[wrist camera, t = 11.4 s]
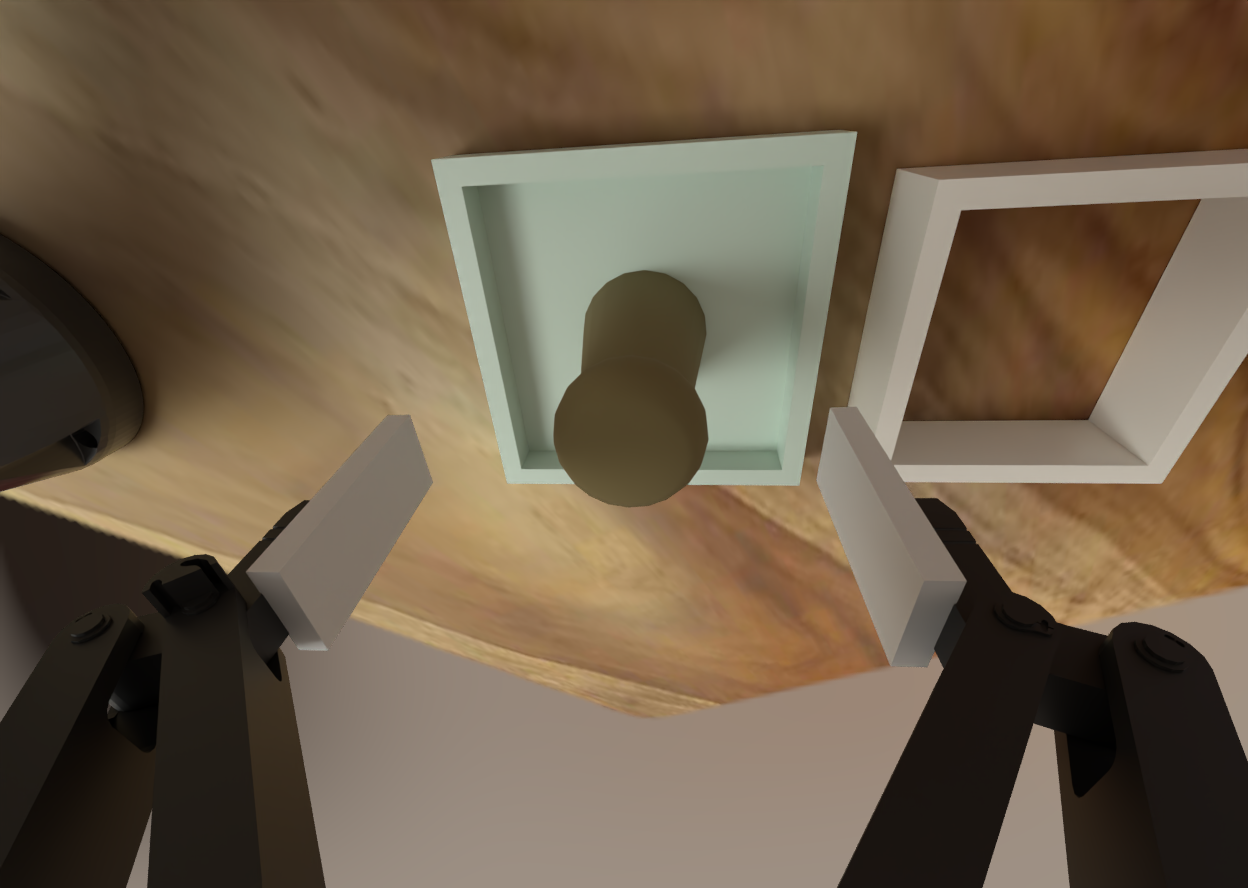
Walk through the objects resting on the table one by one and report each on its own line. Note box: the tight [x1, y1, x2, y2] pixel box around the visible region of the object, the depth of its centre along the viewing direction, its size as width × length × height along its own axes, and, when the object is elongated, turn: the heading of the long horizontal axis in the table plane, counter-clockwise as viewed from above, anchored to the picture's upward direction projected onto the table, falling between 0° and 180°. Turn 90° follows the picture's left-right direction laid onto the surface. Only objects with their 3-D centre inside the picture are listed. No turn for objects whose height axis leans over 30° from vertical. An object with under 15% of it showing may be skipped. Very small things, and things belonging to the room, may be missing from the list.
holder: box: [848, 149, 1248, 484], centre depth 22 cm, size 13×13×4 cm
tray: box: [431, 130, 857, 485], centre depth 24 cm, size 16×16×2 cm
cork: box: [553, 270, 709, 507], centre depth 20 cm, size 6×6×11 cm
